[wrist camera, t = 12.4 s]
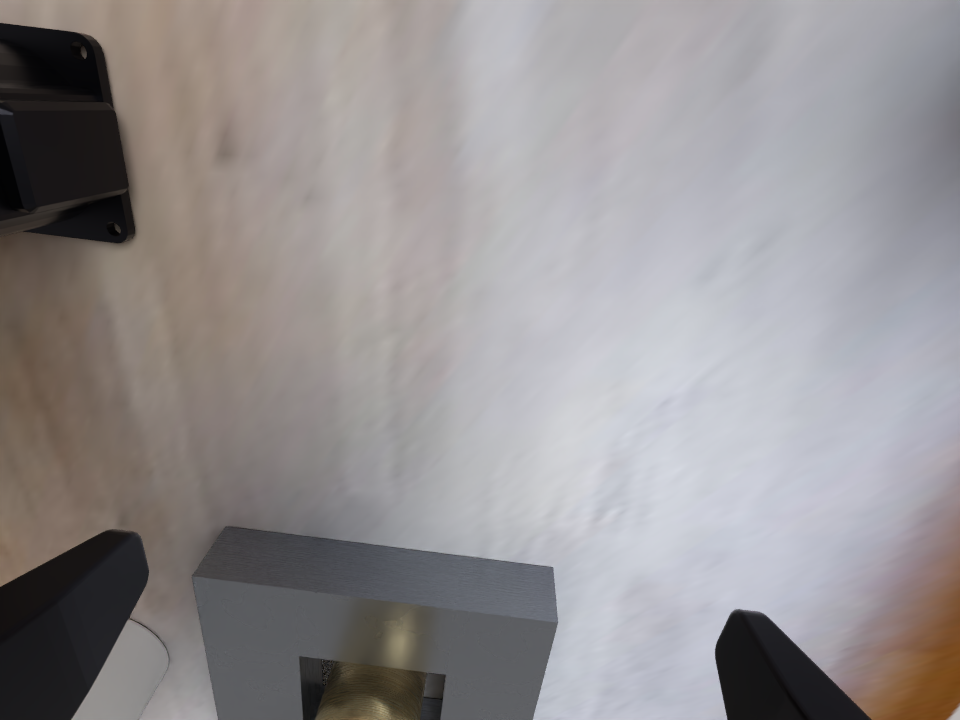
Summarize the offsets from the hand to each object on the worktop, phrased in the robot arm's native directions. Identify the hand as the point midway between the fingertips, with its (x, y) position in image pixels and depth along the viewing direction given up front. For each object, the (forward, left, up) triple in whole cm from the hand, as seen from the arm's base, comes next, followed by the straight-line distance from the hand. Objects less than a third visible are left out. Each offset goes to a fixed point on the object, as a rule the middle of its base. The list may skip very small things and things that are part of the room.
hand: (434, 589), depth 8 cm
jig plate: (-3, -21, -13) cm, 25 cm away
